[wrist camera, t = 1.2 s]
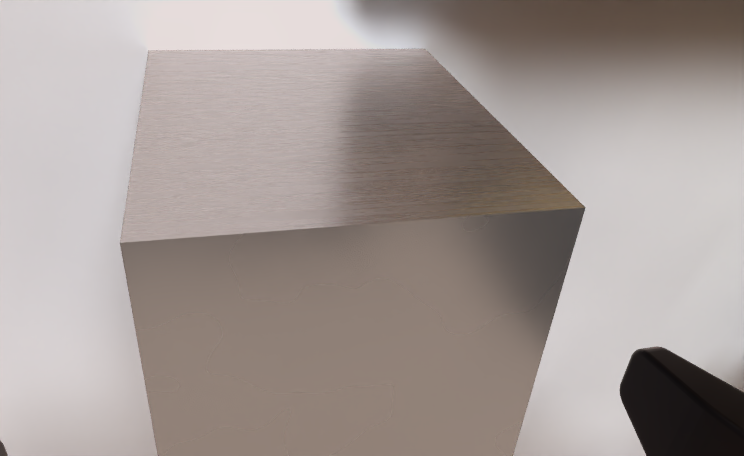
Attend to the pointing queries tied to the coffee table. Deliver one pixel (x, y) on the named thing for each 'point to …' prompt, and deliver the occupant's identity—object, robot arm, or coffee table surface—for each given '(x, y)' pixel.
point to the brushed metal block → (336, 256)
